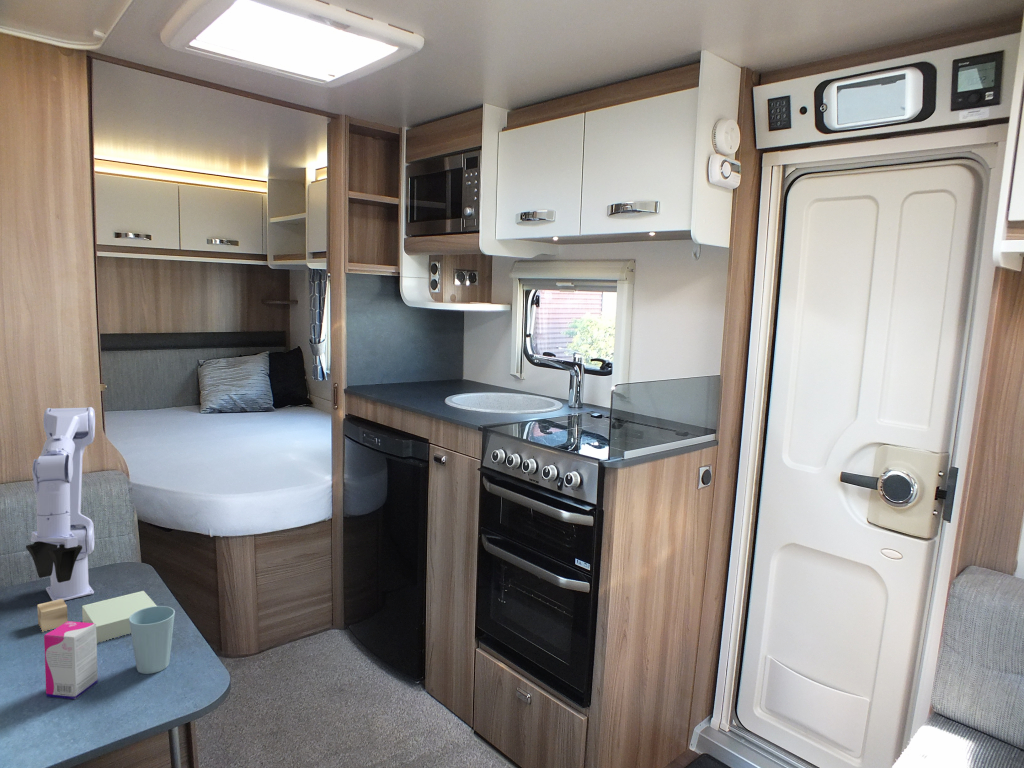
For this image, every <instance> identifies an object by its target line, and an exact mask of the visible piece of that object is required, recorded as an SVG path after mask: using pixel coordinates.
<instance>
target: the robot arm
mask: <svg viewBox="0 0 1024 768" xmlns="http://www.w3.org/2000/svg"><path fill="white" fill-rule="evenodd" d="M95 412H96V411H95V409H94V408H93V407H92V406H88V407H60V408H59V407H58V408H57V407H55V408H51V407H48V408H46V409H45V410H44V413H43V430H44V432H45V437H46V440H45V442H43V443H44V444H43V446H42V449H41V452H40V455H39V456H38V458H37V459H36V458H34V459H33V462H32V467H31V468H32V471H31V473H32V475H31V476H32V480H33V484H34V485H33V486H34V488H33V489H34V493H36V531H32V532H31V533H30V534H31V537H30V542H33V543H31V544H27V545H25V548H26V550H27V552H29V554H30V556H31V558H32V560H33V562H34V565H35V570H36V573H37V576H38V578H39V579H42V578H46V577H50V586H47V587H45V591H46V592H47V594H48V595H49V597H50V599H51V601H55V600H59V599H63V600H64V601H67V600H73V599H77V598H80V597H85V596H89V595H93V594H94V592H95V590H93V588H92V587H91V585H90V584H89V557H88V556H89V554H91V553H93V551H94V549H95V527H94V526H95V524H94V522H93V520H92V519H91V518H89V517H88V516H85V515H84V514H82V513H81V511H82V509H81V507H82V488H83V487H82V486H83V485H82V483H83V457H84V453H85V450H86V447H87V446H89V445H90V444H93V443H94V439H95V437H96V436H95V435H96V432H95V430H96V429H95V428H96V413H95Z"/></svg>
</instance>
